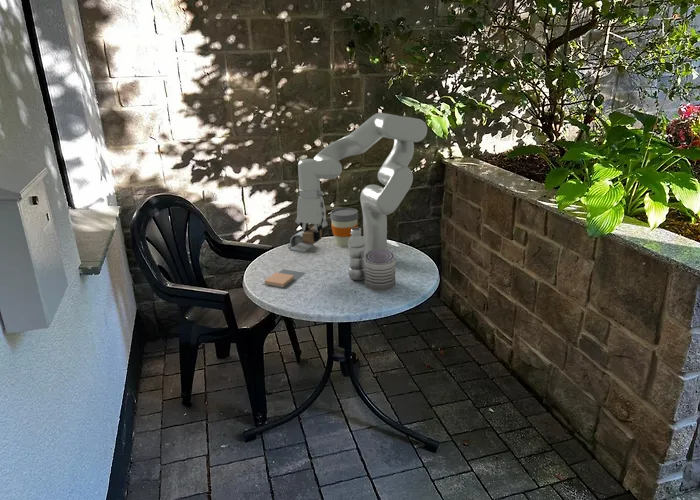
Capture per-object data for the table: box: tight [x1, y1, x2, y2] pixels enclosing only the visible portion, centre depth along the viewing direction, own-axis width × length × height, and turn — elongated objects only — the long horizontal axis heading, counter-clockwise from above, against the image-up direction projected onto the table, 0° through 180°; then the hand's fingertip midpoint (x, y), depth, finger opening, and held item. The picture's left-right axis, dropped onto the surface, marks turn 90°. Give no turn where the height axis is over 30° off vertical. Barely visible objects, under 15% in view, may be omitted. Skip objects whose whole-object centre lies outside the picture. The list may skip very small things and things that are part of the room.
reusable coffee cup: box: [329, 207, 359, 248], centre depth 220 cm, size 13×13×15 cm
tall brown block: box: [289, 225, 323, 254], centre depth 183 cm, size 16×6×4 cm, turn 156°
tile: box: [264, 272, 294, 288], centre depth 185 cm, size 8×2×8 cm
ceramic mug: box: [286, 230, 304, 249], centre depth 218 cm, size 11×8×8 cm
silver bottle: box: [347, 227, 365, 281], centre depth 183 cm, size 6×7×20 cm
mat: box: [261, 268, 306, 290], centre depth 188 cm, size 10×15×1 cm
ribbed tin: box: [364, 249, 397, 293], centre depth 179 cm, size 11×11×12 cm
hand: (312, 240), depth 186 cm, fingers closed on tall brown block, 3 cm apart
